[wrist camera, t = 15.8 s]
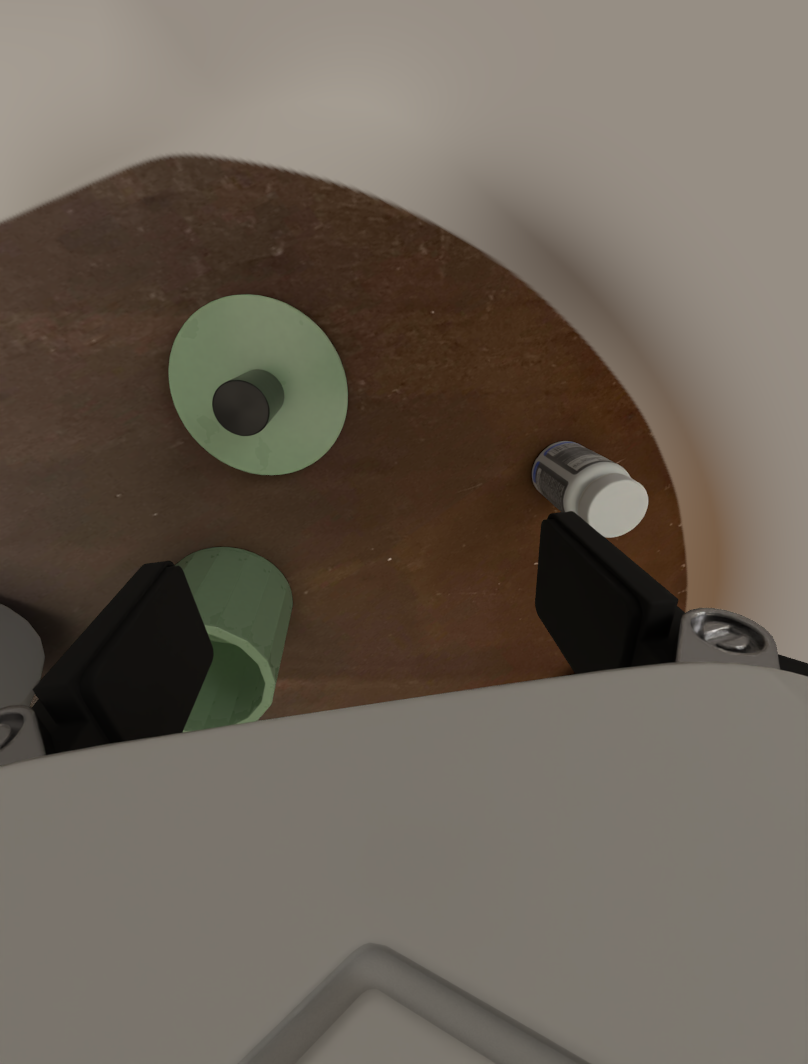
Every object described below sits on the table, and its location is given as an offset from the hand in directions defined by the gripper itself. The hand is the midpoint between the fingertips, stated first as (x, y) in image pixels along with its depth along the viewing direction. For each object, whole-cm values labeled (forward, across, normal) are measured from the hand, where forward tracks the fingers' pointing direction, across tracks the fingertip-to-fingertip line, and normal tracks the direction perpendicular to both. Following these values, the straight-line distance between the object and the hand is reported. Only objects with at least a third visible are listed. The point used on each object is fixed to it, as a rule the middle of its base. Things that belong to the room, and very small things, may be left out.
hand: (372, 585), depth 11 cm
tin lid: (+21, +6, -3) cm, 22 cm away
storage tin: (+21, +13, +14) cm, 29 cm away
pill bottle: (+22, -15, +6) cm, 27 cm away
